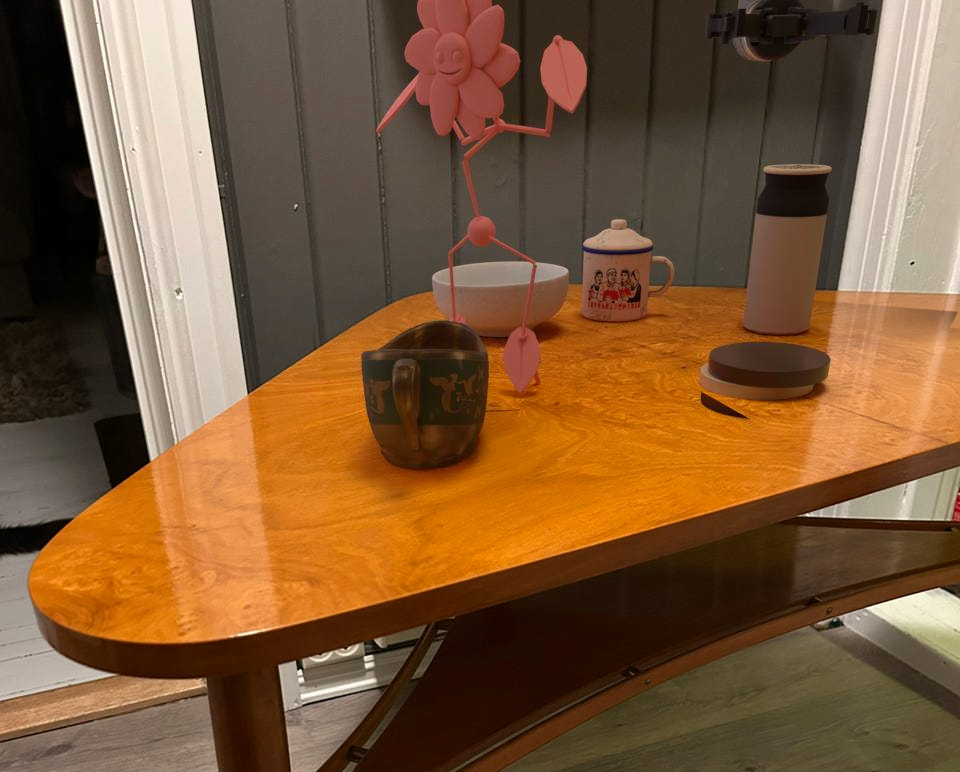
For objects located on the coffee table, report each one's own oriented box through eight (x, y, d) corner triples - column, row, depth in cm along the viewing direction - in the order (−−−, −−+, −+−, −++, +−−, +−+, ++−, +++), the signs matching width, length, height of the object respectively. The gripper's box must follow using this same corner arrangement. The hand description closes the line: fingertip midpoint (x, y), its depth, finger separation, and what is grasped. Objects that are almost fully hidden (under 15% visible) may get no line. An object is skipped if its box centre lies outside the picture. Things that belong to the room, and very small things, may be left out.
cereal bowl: (513, 310, 128) (512, 255, 125) (595, 331, 117) (597, 271, 113) (409, 329, 120) (405, 271, 116) (486, 354, 108) (485, 290, 105)
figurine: (425, 355, 108) (406, -11, 90) (608, 395, 94) (629, -35, 75) (323, 385, 99) (279, -18, 81) (509, 434, 84) (506, -47, 66)
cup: (295, 467, 78) (279, 344, 73) (434, 404, 92) (429, 297, 87) (420, 497, 72) (412, 364, 66) (549, 425, 86) (550, 310, 81)
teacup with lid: (578, 322, 121) (582, 225, 115) (580, 307, 129) (583, 215, 123) (672, 323, 120) (681, 224, 114) (669, 308, 128) (676, 215, 122)
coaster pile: (779, 381, 96) (785, 336, 94) (846, 413, 87) (855, 364, 85) (678, 392, 94) (682, 347, 91) (736, 427, 84) (742, 377, 82)
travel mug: (800, 338, 111) (826, 170, 102) (734, 332, 115) (753, 169, 106) (815, 324, 117) (840, 164, 108) (752, 319, 121) (771, 163, 111)
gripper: (681, -4, 125) (694, -16, 107) (874, -9, 123) (921, -23, 105) (676, 62, 129) (688, 61, 111) (863, 58, 126) (906, 56, 108)
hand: (801, 21), depth 108 cm, fingers open, 13 cm apart
